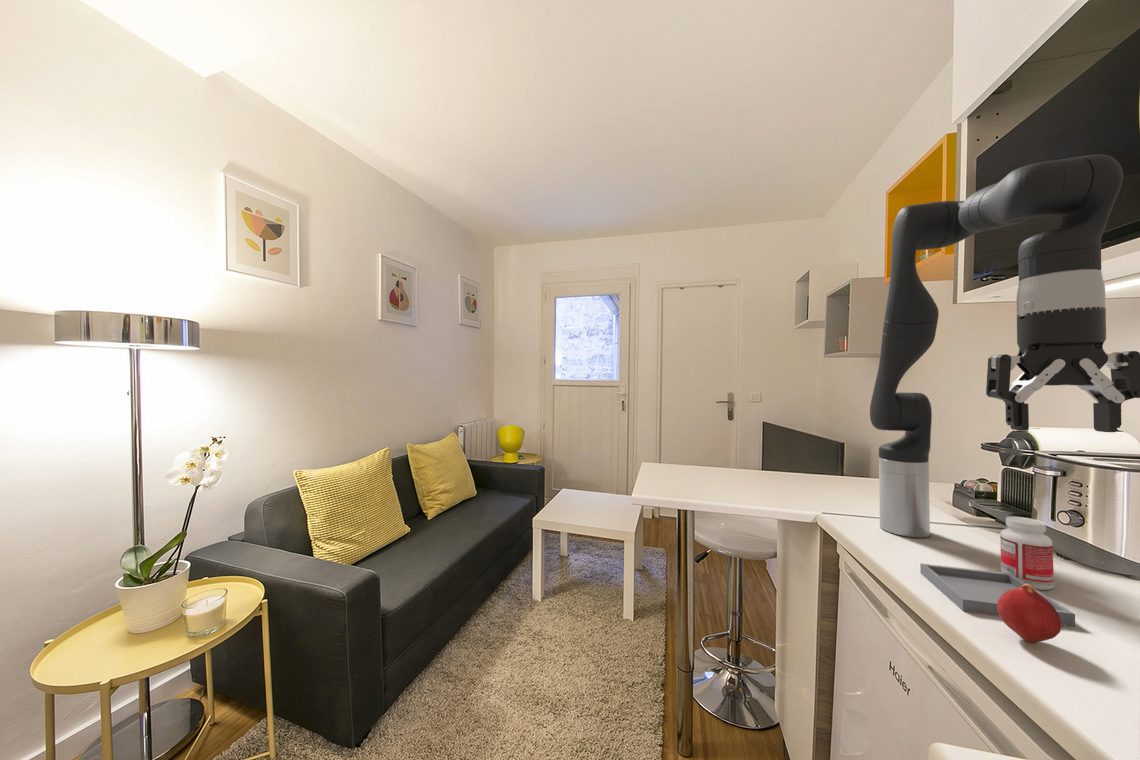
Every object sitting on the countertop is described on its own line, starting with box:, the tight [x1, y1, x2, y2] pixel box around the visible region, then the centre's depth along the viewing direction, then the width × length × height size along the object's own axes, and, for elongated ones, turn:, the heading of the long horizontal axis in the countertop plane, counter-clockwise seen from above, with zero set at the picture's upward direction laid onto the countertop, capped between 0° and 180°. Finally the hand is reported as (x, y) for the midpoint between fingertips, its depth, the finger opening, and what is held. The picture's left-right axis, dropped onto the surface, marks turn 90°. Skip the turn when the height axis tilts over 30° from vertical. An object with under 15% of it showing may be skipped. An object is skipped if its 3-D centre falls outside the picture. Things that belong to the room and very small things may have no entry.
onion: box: [997, 584, 1063, 644], centre depth 55 cm, size 6×6×8 cm
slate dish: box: [919, 562, 1076, 627], centre depth 66 cm, size 13×13×2 cm
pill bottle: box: [999, 515, 1055, 591], centre depth 71 cm, size 6×6×11 cm
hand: (1061, 430), depth 53 cm, fingers open, 8 cm apart
